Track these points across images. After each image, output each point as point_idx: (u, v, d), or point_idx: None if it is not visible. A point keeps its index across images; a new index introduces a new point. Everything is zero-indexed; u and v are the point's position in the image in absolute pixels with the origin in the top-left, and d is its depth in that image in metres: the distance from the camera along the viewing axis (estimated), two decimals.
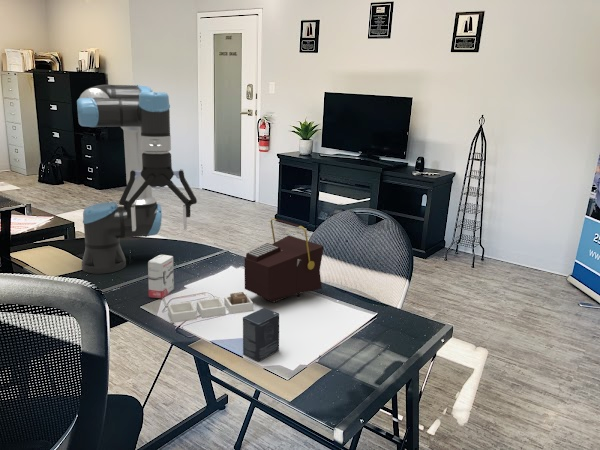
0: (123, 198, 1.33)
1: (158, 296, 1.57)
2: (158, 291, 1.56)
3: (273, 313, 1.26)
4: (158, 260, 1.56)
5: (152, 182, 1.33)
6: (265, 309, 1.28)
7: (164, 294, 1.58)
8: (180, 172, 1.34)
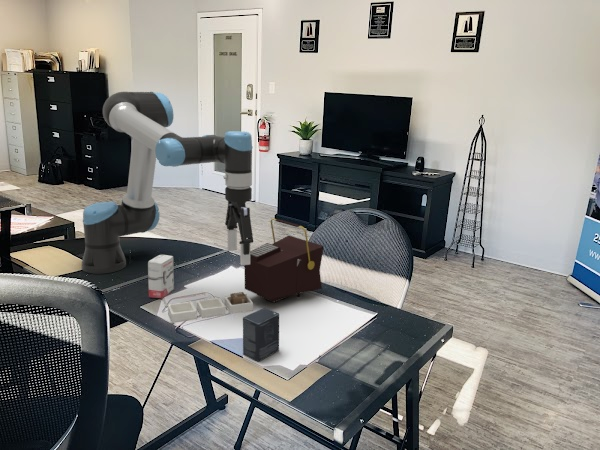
0: (226, 220, 1.53)
1: (158, 296, 1.57)
2: (158, 291, 1.56)
3: (273, 313, 1.26)
4: (158, 260, 1.56)
5: None
6: (265, 309, 1.28)
7: (164, 294, 1.58)
8: (240, 209, 1.38)
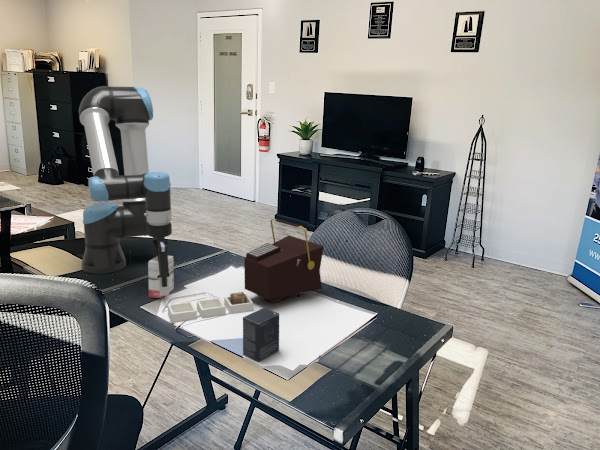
0: (153, 256, 1.65)
1: (158, 296, 1.57)
2: (158, 291, 1.56)
3: (273, 313, 1.26)
4: None
5: None
6: (265, 309, 1.28)
7: None
8: (158, 246, 1.51)
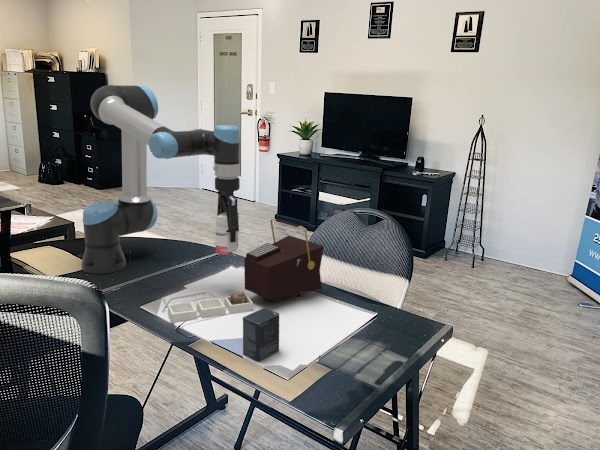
0: (217, 213, 1.62)
1: (225, 252, 1.54)
2: (226, 247, 1.54)
3: (273, 313, 1.26)
4: None
5: (223, 201, 1.55)
6: (265, 309, 1.28)
7: None
8: (228, 200, 1.48)
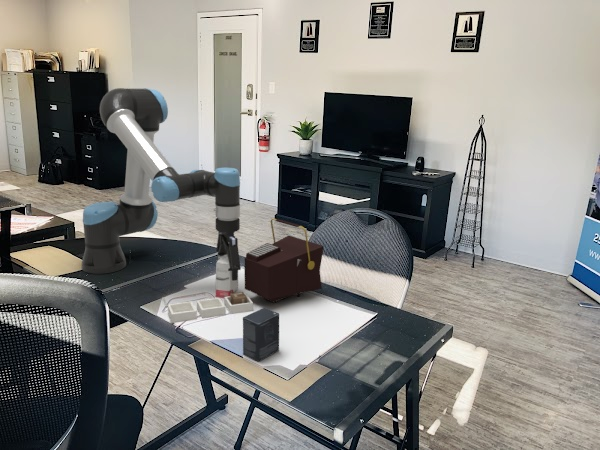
0: (217, 247, 1.67)
1: (225, 296, 1.59)
2: (225, 291, 1.58)
3: (273, 313, 1.26)
4: (226, 260, 1.58)
5: (223, 241, 1.59)
6: (265, 309, 1.28)
7: None
8: (229, 239, 1.52)
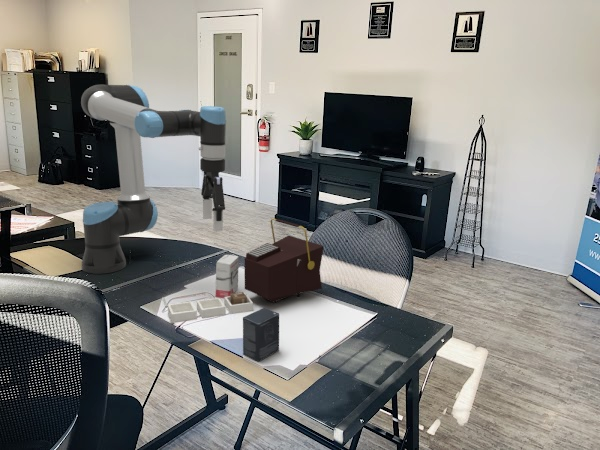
0: (202, 190, 1.64)
1: (225, 296, 1.59)
2: (225, 291, 1.58)
3: (273, 313, 1.26)
4: (226, 261, 1.58)
5: None
6: (265, 309, 1.28)
7: None
8: (213, 179, 1.49)
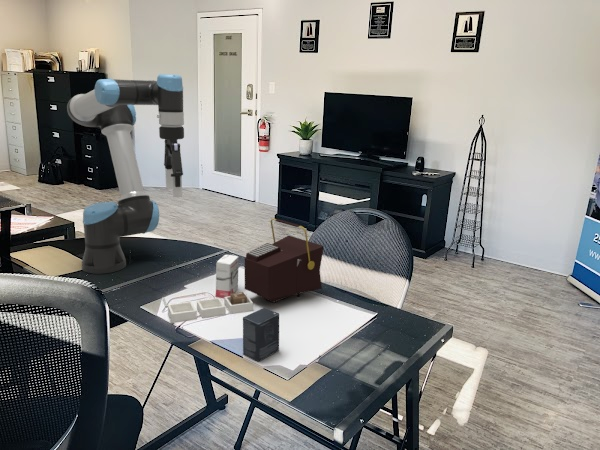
0: (164, 161, 1.67)
1: (225, 296, 1.59)
2: (225, 291, 1.58)
3: (273, 313, 1.26)
4: (226, 261, 1.58)
5: (168, 151, 1.59)
6: (265, 309, 1.28)
7: None
8: (171, 145, 1.51)
